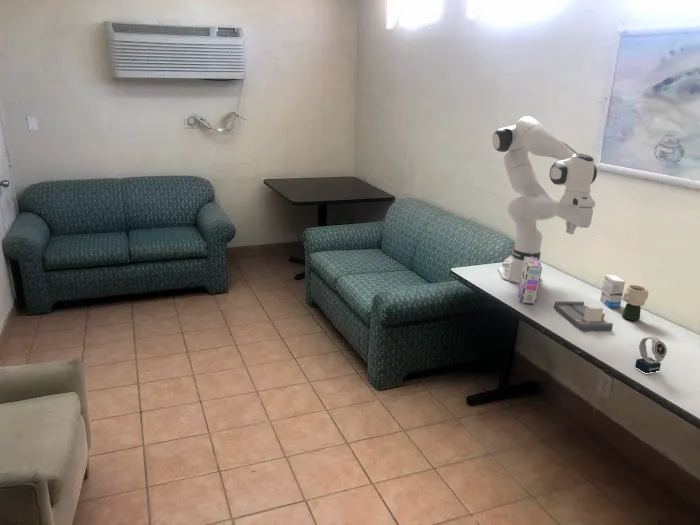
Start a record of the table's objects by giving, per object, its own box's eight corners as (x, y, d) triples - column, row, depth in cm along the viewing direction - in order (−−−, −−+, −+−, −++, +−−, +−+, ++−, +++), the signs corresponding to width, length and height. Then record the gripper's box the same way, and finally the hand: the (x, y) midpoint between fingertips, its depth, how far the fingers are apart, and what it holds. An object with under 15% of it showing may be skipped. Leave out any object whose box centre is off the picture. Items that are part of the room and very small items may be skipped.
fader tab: (581, 319, 207) (584, 304, 205) (596, 319, 207) (599, 305, 206) (586, 323, 203) (589, 309, 201) (602, 323, 203) (605, 309, 202)
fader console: (553, 307, 222) (555, 296, 221) (581, 308, 224) (583, 296, 222) (580, 331, 201) (583, 318, 200) (611, 331, 203) (614, 318, 201)
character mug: (635, 314, 220) (642, 284, 216) (648, 321, 214) (656, 290, 210) (612, 315, 218) (619, 284, 214) (625, 323, 211) (632, 291, 207)
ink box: (620, 308, 226) (626, 281, 222) (608, 308, 226) (614, 281, 222) (610, 300, 234) (616, 274, 231) (599, 300, 234) (604, 274, 231)
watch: (651, 377, 170) (659, 345, 167) (630, 365, 177) (637, 334, 174) (664, 375, 172) (672, 343, 169) (643, 363, 179) (650, 332, 176)
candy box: (535, 305, 224) (542, 267, 219) (521, 303, 225) (527, 265, 220) (532, 293, 237) (538, 257, 232) (518, 292, 238) (524, 255, 233)
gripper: (555, 192, 218) (550, 226, 222) (581, 203, 199) (574, 240, 203) (570, 193, 219) (564, 227, 223) (598, 203, 199) (590, 240, 204)
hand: (569, 233), depth 213 cm, fingers closed
